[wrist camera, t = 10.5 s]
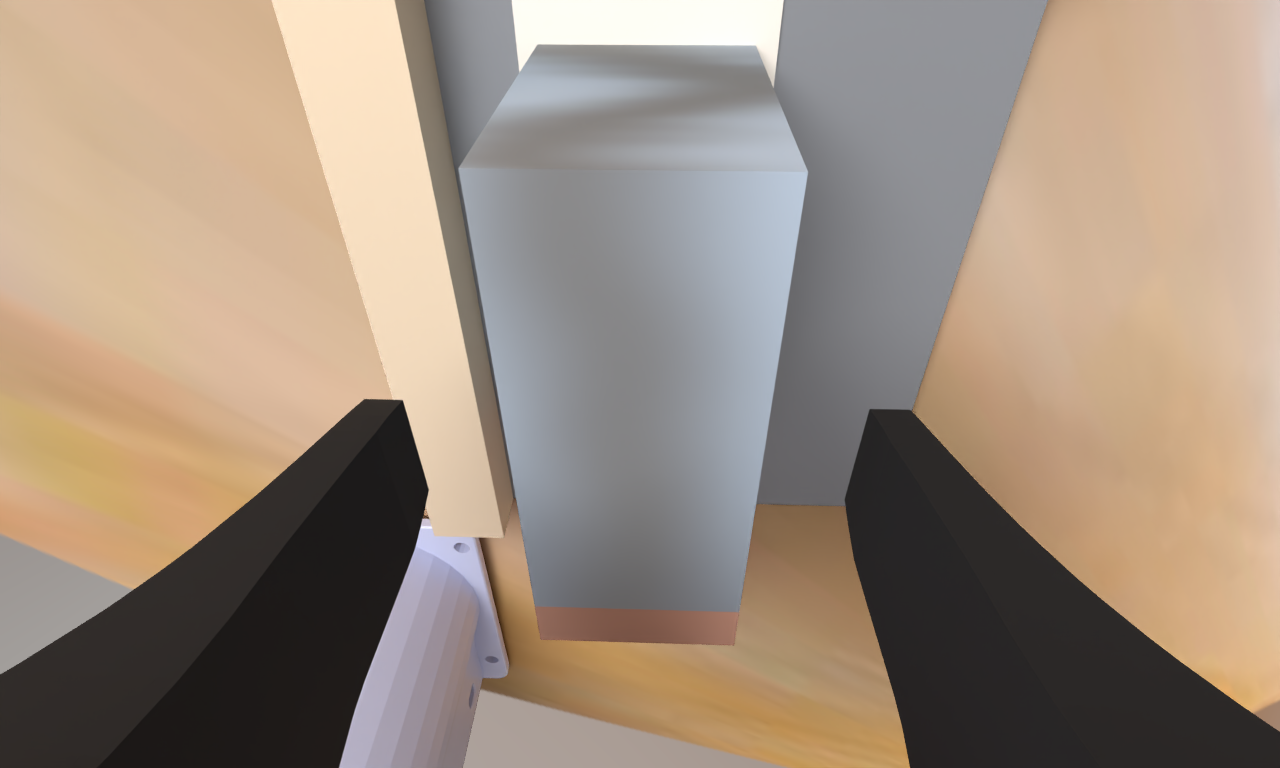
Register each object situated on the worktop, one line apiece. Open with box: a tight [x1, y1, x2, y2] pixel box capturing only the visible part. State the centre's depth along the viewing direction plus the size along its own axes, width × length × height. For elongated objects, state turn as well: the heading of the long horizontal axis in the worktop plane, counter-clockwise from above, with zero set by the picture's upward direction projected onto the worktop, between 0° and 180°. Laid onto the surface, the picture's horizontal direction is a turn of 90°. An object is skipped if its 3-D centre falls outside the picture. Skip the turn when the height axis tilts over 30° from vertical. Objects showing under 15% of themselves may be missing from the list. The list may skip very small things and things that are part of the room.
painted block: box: [458, 44, 808, 645], centre depth 13 cm, size 4×10×6 cm, turn 0°
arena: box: [272, 0, 1048, 538], centre depth 15 cm, size 17×13×2 cm
